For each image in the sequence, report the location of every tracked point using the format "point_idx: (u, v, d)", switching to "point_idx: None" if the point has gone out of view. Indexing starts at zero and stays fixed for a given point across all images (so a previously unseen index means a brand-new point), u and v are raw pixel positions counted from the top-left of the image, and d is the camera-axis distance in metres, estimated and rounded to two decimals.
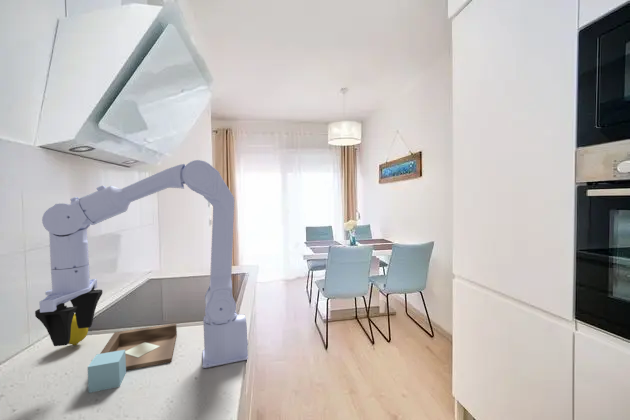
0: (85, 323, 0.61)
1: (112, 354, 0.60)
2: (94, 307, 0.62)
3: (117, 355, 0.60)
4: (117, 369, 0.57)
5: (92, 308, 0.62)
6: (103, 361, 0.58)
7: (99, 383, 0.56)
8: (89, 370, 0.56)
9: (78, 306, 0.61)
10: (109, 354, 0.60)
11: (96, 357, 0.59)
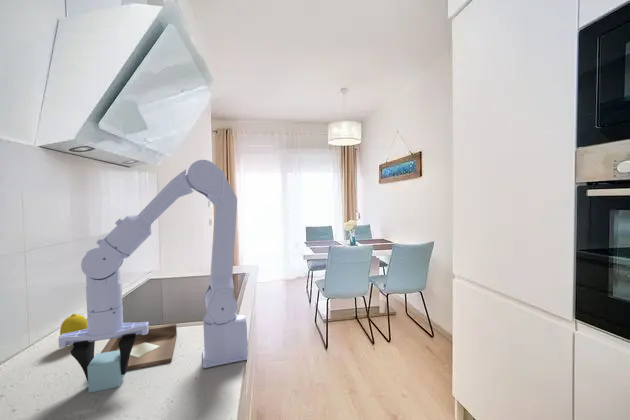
0: None
1: (112, 354, 0.60)
2: (122, 356, 0.58)
3: (117, 355, 0.60)
4: (117, 369, 0.57)
5: (122, 357, 0.58)
6: (103, 360, 0.58)
7: (99, 383, 0.56)
8: (89, 370, 0.56)
9: None
10: (109, 353, 0.60)
11: (95, 357, 0.59)
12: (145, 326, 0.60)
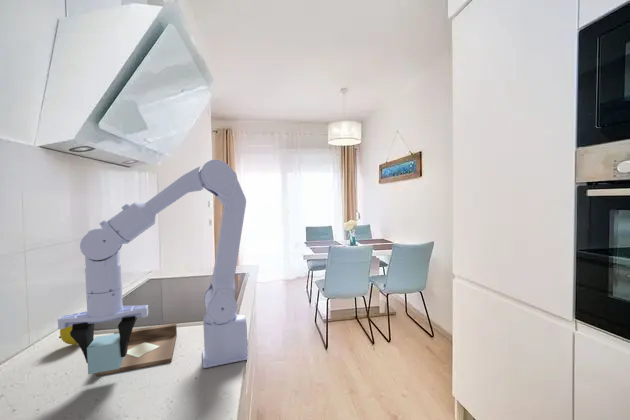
0: None
1: (112, 336, 0.60)
2: (122, 338, 0.58)
3: (116, 338, 0.60)
4: (116, 351, 0.57)
5: (121, 339, 0.58)
6: (103, 342, 0.58)
7: (99, 365, 0.56)
8: (88, 351, 0.56)
9: None
10: (108, 336, 0.60)
11: (95, 339, 0.59)
12: (144, 309, 0.60)
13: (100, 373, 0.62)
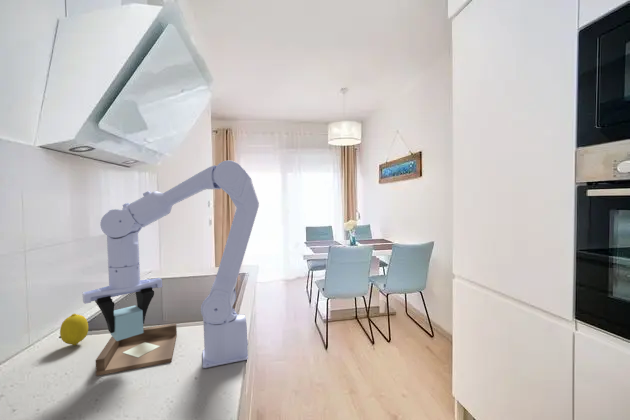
0: None
1: (127, 308, 0.66)
2: (144, 306, 0.66)
3: (134, 308, 0.66)
4: (141, 317, 0.65)
5: (143, 307, 0.66)
6: (126, 312, 0.64)
7: (126, 331, 0.63)
8: (117, 320, 0.62)
9: (138, 302, 0.67)
10: (124, 309, 0.66)
11: None
12: (160, 280, 0.69)
13: (100, 373, 0.62)
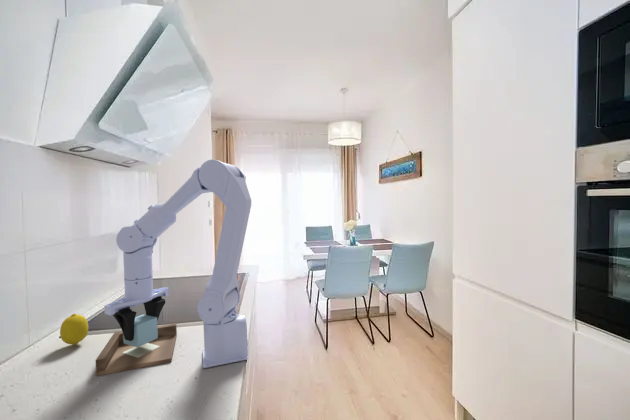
0: None
1: (139, 317, 0.71)
2: (156, 314, 0.72)
3: (146, 316, 0.72)
4: (156, 324, 0.71)
5: (155, 315, 0.72)
6: (142, 320, 0.69)
7: (145, 338, 0.68)
8: (138, 328, 0.67)
9: (147, 311, 0.73)
10: (136, 318, 0.71)
11: None
12: (168, 289, 0.76)
13: (100, 373, 0.62)
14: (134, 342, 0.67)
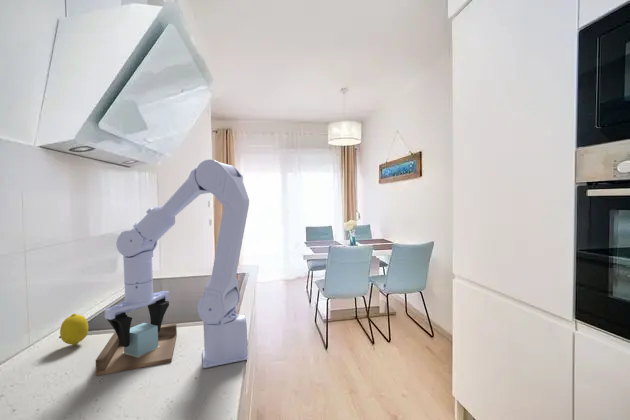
0: None
1: (139, 326, 0.71)
2: (160, 316, 0.73)
3: (146, 325, 0.72)
4: (156, 332, 0.71)
5: (159, 317, 0.73)
6: (142, 329, 0.69)
7: (145, 346, 0.69)
8: (138, 337, 0.67)
9: (152, 313, 0.74)
10: (136, 327, 0.71)
11: None
12: (168, 292, 0.76)
13: (100, 373, 0.62)
14: (135, 351, 0.67)
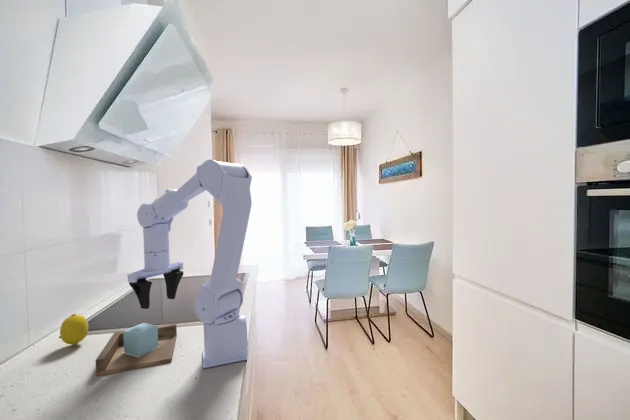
0: (170, 295, 0.80)
1: (139, 326, 0.71)
2: (176, 284, 0.80)
3: (146, 325, 0.72)
4: (156, 332, 0.71)
5: (175, 285, 0.80)
6: (142, 329, 0.69)
7: (145, 346, 0.69)
8: (138, 337, 0.67)
9: (167, 281, 0.81)
10: (136, 327, 0.71)
11: (129, 331, 0.69)
12: (182, 263, 0.83)
13: (100, 373, 0.62)
14: (135, 351, 0.67)
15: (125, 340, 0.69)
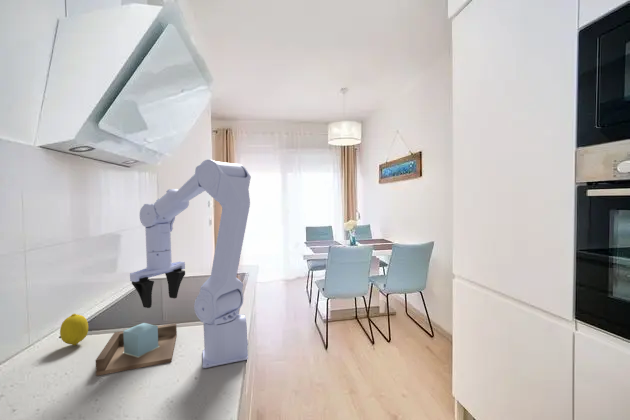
0: (172, 294, 0.81)
1: (139, 326, 0.71)
2: (178, 283, 0.81)
3: (146, 325, 0.72)
4: (156, 332, 0.71)
5: (177, 284, 0.81)
6: (142, 329, 0.69)
7: (145, 346, 0.69)
8: (138, 337, 0.67)
9: (169, 281, 0.81)
10: (136, 327, 0.71)
11: (129, 331, 0.69)
12: (184, 263, 0.83)
13: (100, 373, 0.62)
14: (135, 351, 0.67)
15: (125, 340, 0.69)
